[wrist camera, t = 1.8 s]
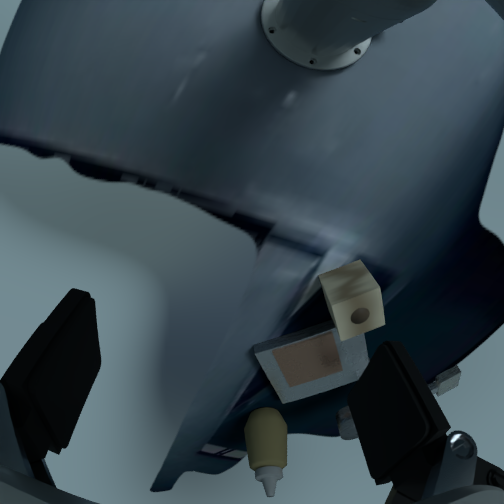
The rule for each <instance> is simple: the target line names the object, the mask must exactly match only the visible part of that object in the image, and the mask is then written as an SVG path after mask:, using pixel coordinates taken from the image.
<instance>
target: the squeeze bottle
mask: <svg viewBox="0 0 504 504" xmlns="http://www.w3.org/2000/svg"><path fill="white" fill-rule="evenodd" d="M244 432H245V439H246V446H247V453H248V460H249V466H250V468H251V469H252V470H254V471H255V479H256V480H257V481H260V482H262V483H263V486H264V489H265V492H266V495H267V497H273V496H274V494H275V488H276V482H277V481H278V480H280V479H282V478H283V473H282V469H283V468H284V467H285V466H286V465H287V425H286V423H285V421H284V419H283V418H282V416H281V414H280V412H279V411H278V410H276V409H274V408H268V407H266V408H259V409H256V410H254V411H252V412H251V414H250V415H249V418H248V421H247V423H246V426H245V428H244Z"/></svg>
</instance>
